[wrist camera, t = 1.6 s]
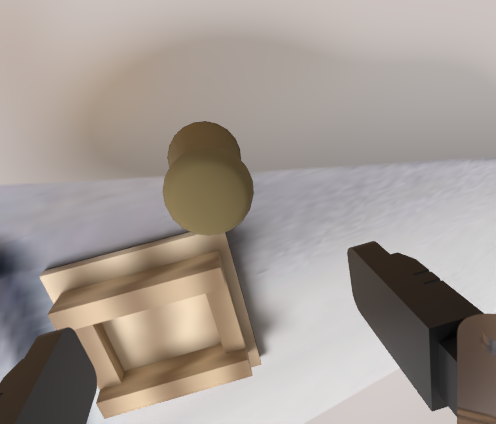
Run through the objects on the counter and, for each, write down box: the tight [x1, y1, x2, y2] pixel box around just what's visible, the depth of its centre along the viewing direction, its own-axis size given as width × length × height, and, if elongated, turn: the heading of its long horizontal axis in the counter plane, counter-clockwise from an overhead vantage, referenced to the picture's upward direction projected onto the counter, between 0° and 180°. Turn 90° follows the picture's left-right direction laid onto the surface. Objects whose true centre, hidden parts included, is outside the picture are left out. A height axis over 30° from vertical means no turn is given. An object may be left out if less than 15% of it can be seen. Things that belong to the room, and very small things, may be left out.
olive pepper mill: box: [163, 121, 254, 236], centre depth 24 cm, size 6×6×11 cm
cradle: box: [40, 232, 261, 419], centre depth 32 cm, size 16×16×4 cm
